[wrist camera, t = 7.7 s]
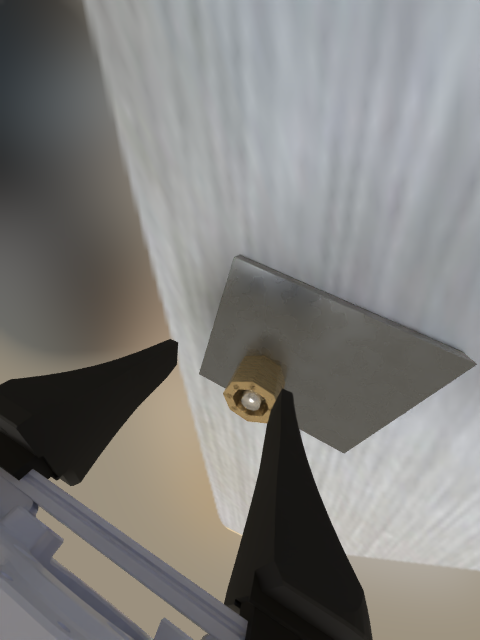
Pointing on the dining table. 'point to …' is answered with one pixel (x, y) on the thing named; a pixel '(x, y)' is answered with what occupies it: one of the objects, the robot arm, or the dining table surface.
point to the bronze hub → (255, 386)
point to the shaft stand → (325, 354)
